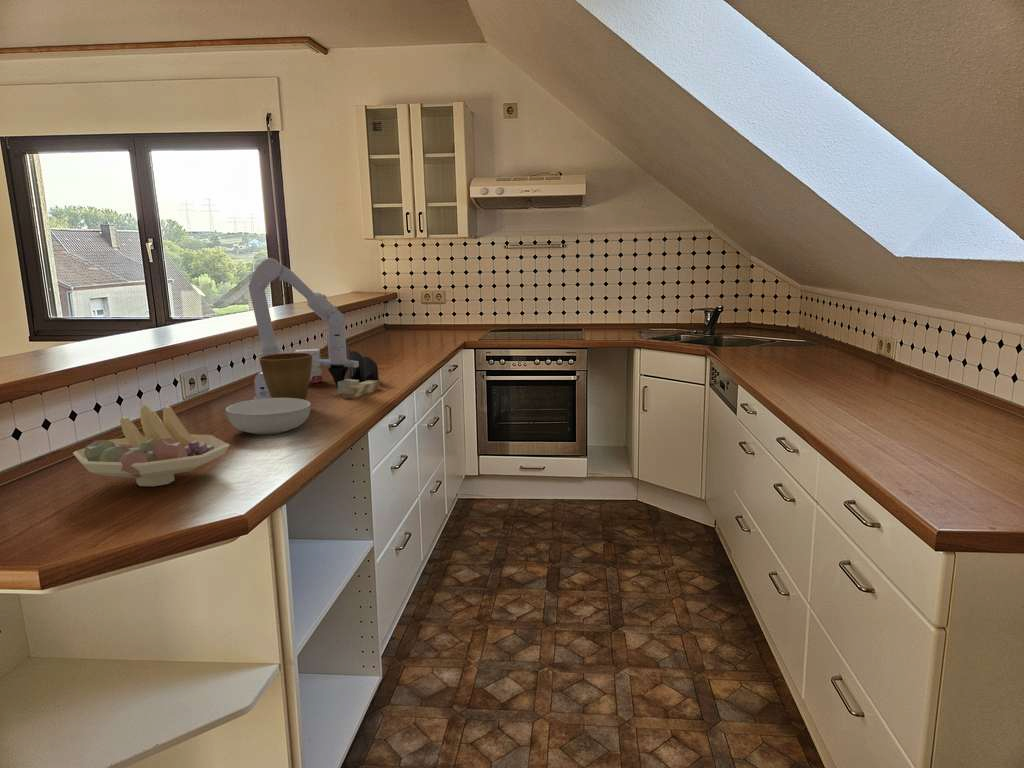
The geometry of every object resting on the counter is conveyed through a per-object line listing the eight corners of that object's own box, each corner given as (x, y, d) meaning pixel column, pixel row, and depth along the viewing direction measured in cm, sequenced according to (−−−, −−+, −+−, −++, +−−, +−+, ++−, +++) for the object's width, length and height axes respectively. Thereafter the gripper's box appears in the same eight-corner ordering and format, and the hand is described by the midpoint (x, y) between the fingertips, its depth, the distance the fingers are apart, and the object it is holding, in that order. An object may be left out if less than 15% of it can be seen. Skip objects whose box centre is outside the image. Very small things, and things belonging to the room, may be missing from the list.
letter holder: (350, 389, 239) (348, 348, 236) (339, 380, 257) (337, 341, 254) (379, 386, 243) (377, 346, 240) (366, 377, 261) (364, 339, 258)
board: (352, 398, 222) (352, 389, 222) (341, 398, 224) (341, 388, 223) (379, 389, 237) (378, 380, 236) (369, 388, 238) (368, 380, 238)
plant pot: (323, 403, 216) (319, 352, 213) (304, 414, 201) (300, 359, 198) (276, 403, 217) (272, 352, 214) (254, 414, 203) (249, 359, 200)
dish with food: (191, 454, 162) (185, 394, 160) (257, 477, 145) (251, 410, 142) (55, 486, 141) (45, 418, 139) (113, 518, 124) (103, 440, 121)
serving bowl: (287, 442, 172) (285, 415, 170) (210, 439, 176) (208, 412, 175) (326, 422, 192) (324, 397, 190) (256, 420, 196) (254, 396, 195)
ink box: (322, 380, 255) (320, 348, 253) (322, 383, 250) (320, 350, 248) (297, 382, 253) (295, 349, 251) (296, 384, 248) (294, 351, 246)
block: (351, 394, 228) (350, 382, 228) (338, 393, 230) (337, 381, 229) (359, 391, 233) (358, 379, 232) (346, 391, 235) (345, 379, 234)
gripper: (362, 346, 231) (365, 386, 234) (325, 344, 236) (328, 384, 239) (350, 349, 225) (353, 390, 227) (312, 347, 230) (315, 388, 233)
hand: (339, 387), depth 233 cm, fingers closed
